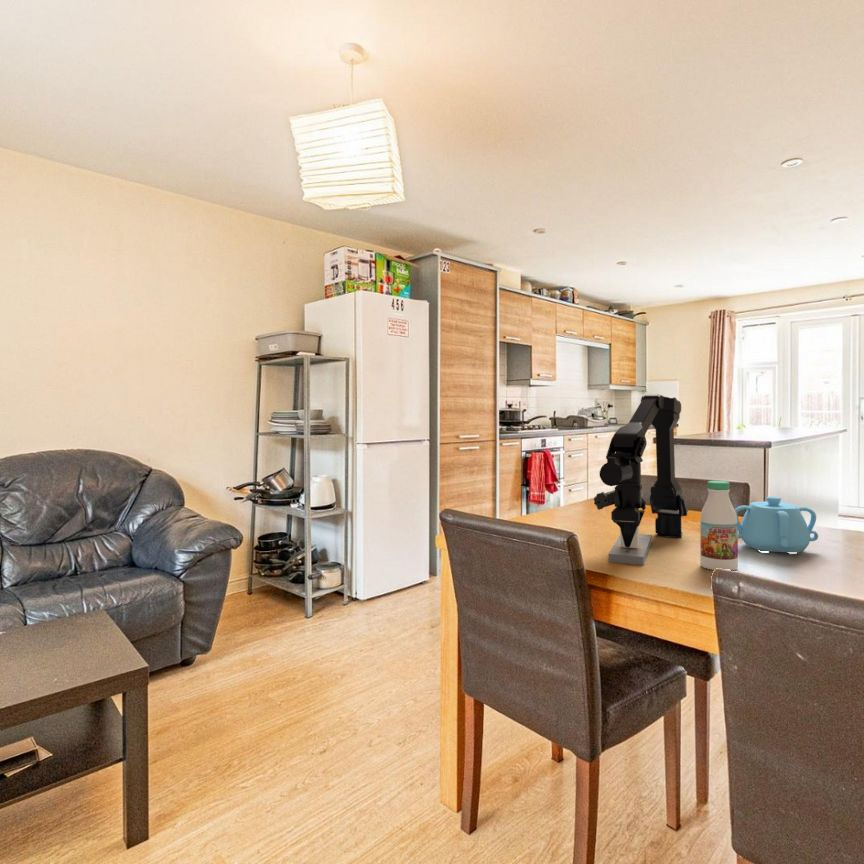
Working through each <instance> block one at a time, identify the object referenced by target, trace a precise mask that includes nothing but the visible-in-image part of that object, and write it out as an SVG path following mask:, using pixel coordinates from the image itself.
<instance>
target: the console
mask: <svg viewBox="0 0 864 864" xmlns="http://www.w3.org/2000/svg"><path fill="white" fill-rule="evenodd" d="M652 543H653V535H652V534H643V533H639V546H638V548H628V547H621V538H620V535H619V536H618V538H617V539H616V541H615V542H614V544H613V546H612V547H611V548H610V550H609V552H608V555H607V557H608V562H609V563H615V564H617V563H619V564H626V563H627V564H628V565H638V566H639V565H640V566H645V563H646V560H647V557H648V554H649V552H650V548H651V545H652ZM627 564H626V565H627Z"/></svg>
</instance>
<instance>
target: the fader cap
mask: <svg viewBox="0 0 864 864" xmlns="http://www.w3.org/2000/svg"><path fill="white" fill-rule="evenodd" d="M619 530H620V534H619V536H620V538H621V547H625V544H624V541H623V537H622V533H621V529H620V528H619ZM639 534H640V533H639V527H637V529H636V532H635V535H634V537H633V540H632V542H631V545H630V547H628V548H638V546H639Z"/></svg>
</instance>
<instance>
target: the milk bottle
mask: <svg viewBox="0 0 864 864" xmlns="http://www.w3.org/2000/svg"><path fill="white" fill-rule="evenodd" d="M706 485H707V492H708V495H707V498H706V501H705V503H704V505H703V507H702V510H701V513H700V521H699V523H700V525H699V532H700V534H699V542H700V543H699V544H700V545H699V548H700V549H699V555H700V556H699V558H700V560H699V561H700V562H699V563H700V565H701V567H702V568H704V569H706V568H707V569H706V570H709V569H710V571H714V569H716V568H722V569H730V570H734V571H736V570H738V567H739V538H738V534H739V531H738V525H737V516H736V512H735V508H734V506H733V504H732V502H731V498H730V495H729V493H730V488H731V484H730V482H729V481H725V480H708V481H707V484H706ZM711 569H712V570H711Z"/></svg>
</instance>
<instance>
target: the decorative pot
mask: <svg viewBox="0 0 864 864" xmlns="http://www.w3.org/2000/svg"><path fill="white" fill-rule="evenodd" d="M765 498H766V501H753V502H751V503H750V504H749V505H739V506H737V507H735V508H734V510H735V512H736V516H737V525H738V539H741V540H742V541H743V542H744V543H745V545H746V546H748V547H749V548H752V549H755V550H757V551H758V550H760V551H769V552H777V553H778V552H779V553H786V552H797V553H801V552H804V551H805V550H806V549H807V548H808V546H809V545H810V543H811V542H816V541H817V540H818V539H819V534H818V532H817V531H815V530H813V529H814V527H815V525H816V522H817V513H816V512H815V511H814V509H812V508H809V507H806V506H797V505H796V504H793V503H790V502H783V501H782V498H781V497H779V496H767V497H765ZM743 510H746V511H745V513H744V515H743V517H742V519H741V522H740V519H739V512H740V511H743ZM803 511H804V512H808V513H809V514H810V520H809V523H808V524H807V522H806V520H805V518H804V515H803V514H802V512H803ZM811 534H813V536H811Z"/></svg>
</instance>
